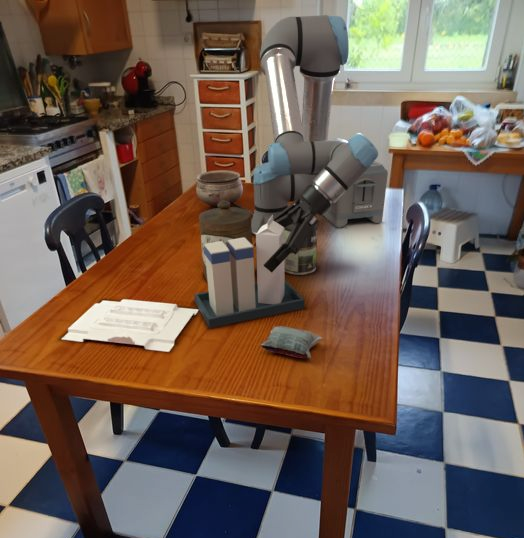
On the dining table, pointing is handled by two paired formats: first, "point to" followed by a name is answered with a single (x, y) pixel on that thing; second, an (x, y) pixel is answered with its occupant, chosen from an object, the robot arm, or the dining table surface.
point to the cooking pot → (219, 187)
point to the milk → (266, 246)
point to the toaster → (361, 198)
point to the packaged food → (291, 341)
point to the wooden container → (224, 226)
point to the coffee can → (302, 254)
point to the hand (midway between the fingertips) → (262, 258)
